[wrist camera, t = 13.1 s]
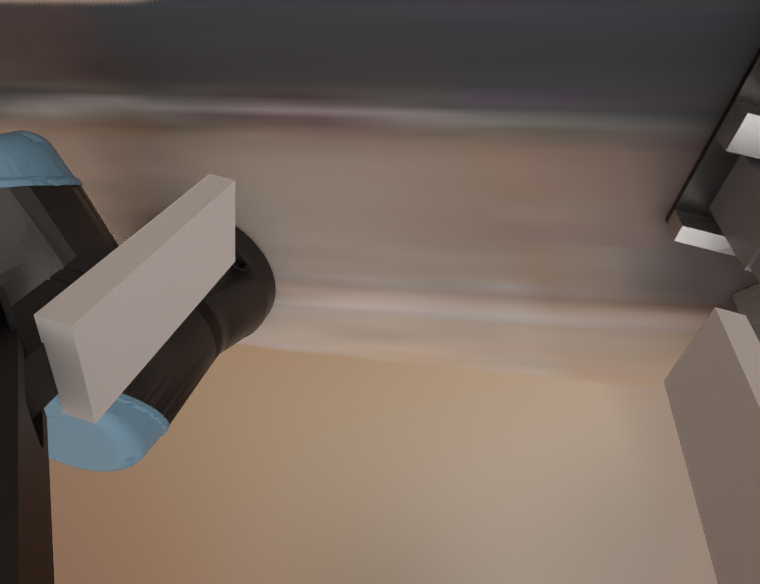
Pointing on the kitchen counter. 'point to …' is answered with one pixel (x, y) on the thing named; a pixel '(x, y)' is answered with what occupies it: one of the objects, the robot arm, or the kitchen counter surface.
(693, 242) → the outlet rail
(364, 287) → the kitchen counter surface
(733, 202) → the twin plug
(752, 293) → the skincare box
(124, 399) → the robot arm
